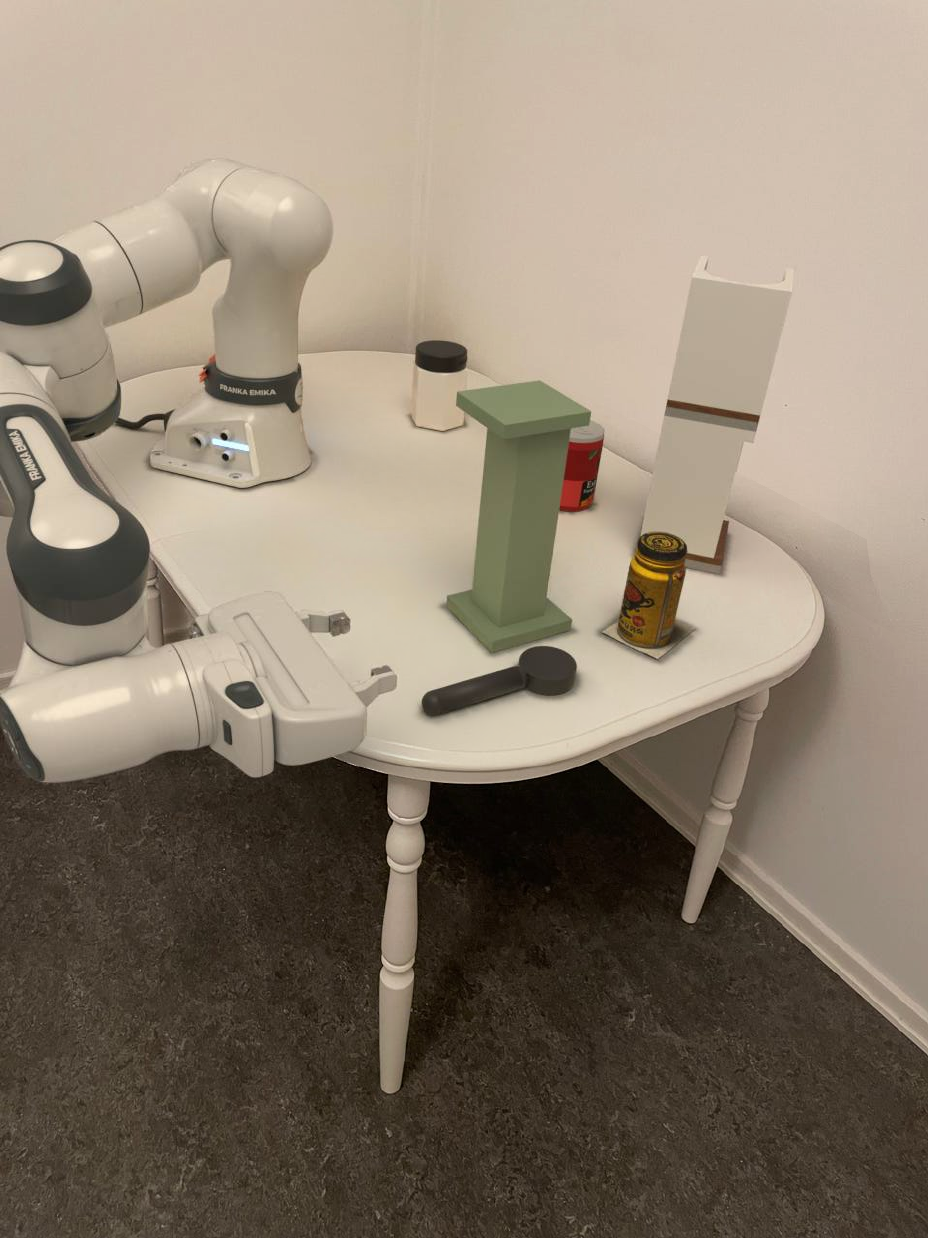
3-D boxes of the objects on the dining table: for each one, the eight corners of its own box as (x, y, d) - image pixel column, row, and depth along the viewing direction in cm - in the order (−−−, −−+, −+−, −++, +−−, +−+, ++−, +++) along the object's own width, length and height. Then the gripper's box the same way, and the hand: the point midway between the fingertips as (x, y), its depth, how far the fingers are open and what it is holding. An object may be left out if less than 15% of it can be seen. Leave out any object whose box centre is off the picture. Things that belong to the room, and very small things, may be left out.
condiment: (601, 633, 108) (618, 540, 101) (640, 605, 114) (659, 515, 107) (657, 661, 104) (679, 566, 98) (694, 630, 110) (718, 538, 103)
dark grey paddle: (437, 733, 92) (438, 714, 90) (408, 698, 96) (409, 678, 94) (585, 686, 100) (589, 667, 98) (553, 655, 104) (555, 637, 102)
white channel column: (719, 574, 121) (792, 291, 102) (636, 556, 123) (691, 277, 104) (725, 534, 131) (793, 268, 111) (648, 518, 133) (701, 255, 113)
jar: (467, 431, 154) (473, 357, 147) (417, 432, 152) (421, 357, 145) (455, 410, 161) (461, 339, 154) (407, 410, 159) (411, 338, 152)
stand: (483, 655, 103) (508, 426, 88) (438, 608, 110) (454, 389, 95) (570, 630, 108) (607, 411, 94) (522, 587, 115) (549, 376, 101)
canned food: (590, 516, 132) (603, 441, 126) (533, 507, 133) (542, 432, 127) (595, 492, 138) (607, 420, 132) (540, 484, 139) (550, 412, 133)
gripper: (183, 651, 88) (323, 617, 95) (262, 792, 74) (420, 742, 80) (177, 593, 85) (322, 562, 91) (258, 730, 71) (424, 682, 77)
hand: (369, 647), depth 86 cm, fingers open, 8 cm apart
